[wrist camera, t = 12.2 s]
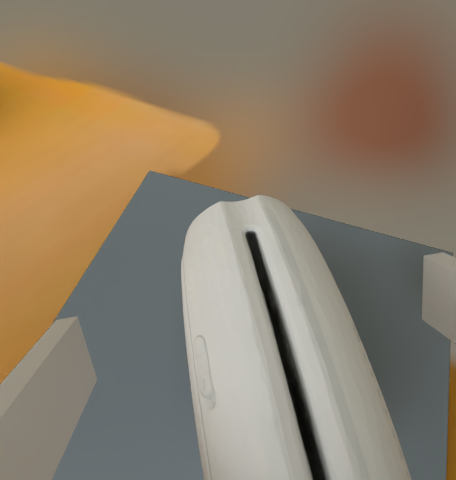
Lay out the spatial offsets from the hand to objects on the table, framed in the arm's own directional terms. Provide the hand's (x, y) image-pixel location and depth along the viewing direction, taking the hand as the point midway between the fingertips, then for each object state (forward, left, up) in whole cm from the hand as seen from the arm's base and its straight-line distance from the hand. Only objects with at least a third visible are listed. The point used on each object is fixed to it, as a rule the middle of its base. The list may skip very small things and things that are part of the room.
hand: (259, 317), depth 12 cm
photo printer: (+1, -2, -7) cm, 7 cm away
